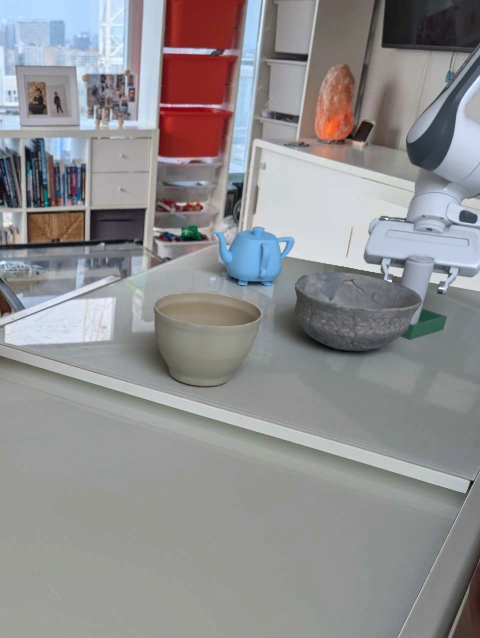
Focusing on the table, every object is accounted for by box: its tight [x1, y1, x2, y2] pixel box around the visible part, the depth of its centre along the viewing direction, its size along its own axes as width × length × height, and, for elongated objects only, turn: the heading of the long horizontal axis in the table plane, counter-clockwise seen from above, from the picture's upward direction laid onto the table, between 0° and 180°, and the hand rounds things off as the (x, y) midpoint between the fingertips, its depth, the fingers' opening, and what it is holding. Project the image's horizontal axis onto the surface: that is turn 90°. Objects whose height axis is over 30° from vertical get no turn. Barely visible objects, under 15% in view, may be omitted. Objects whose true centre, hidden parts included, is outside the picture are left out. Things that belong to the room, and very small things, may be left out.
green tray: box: [400, 307, 448, 340], centre depth 141 cm, size 10×10×2 cm
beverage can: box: [399, 254, 435, 325], centre depth 138 cm, size 5×5×12 cm
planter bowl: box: [153, 291, 264, 387], centre depth 116 cm, size 16×16×11 cm
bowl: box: [294, 271, 422, 352], centre depth 129 cm, size 21×21×10 cm
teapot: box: [211, 226, 296, 286], centre depth 159 cm, size 13×14×11 cm
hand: (413, 289), depth 137 cm, fingers open, 8 cm apart
